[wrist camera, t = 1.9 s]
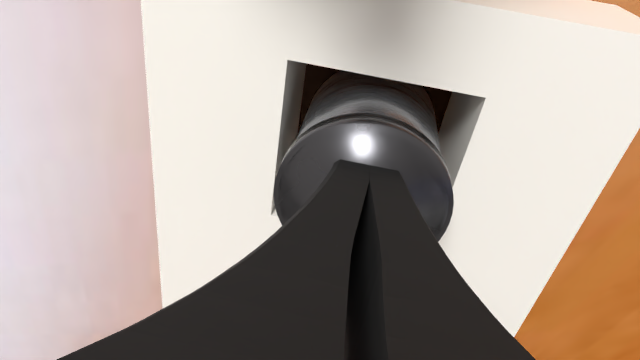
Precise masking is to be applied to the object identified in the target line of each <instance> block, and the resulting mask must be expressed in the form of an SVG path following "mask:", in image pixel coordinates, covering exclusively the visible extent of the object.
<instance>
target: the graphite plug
mask: <svg viewBox="0 0 640 360" xmlns="http://www.w3.org/2000/svg"><path fill="white" fill-rule="evenodd" d="M340 159H342V160H347V161H352V162H357V163H362V164H367V165H372V166H377V167H382V168H387V169H392V170H397V171H399V172H400V174H401V175H402V177H403V179H404V181H405V183H406V185H407V187H408V189H409V191H410V193H411V195H412V197H413V199H414V201H415V203H416V205H417V207H418V209H419V211H420V212H421V214H422V216H423V218H424V220H425V221H426V223H427V225H428V226H429V228H430V230H431V231H432V233H433V235H434V236H435V238H436V240H437V241H439V240H440V239H441V238H442V236H443V235H444V233H445V232H446V230H447V227H448V225H449V223H450V220H451V217H452V213H453V205H454V199H453V189H452V184H451V179H450V174H449V170H448V167H447V165H446V162H445V160H444V158H443V156H442V154H441V148H440V142H439V137H438V131H437V125H436V119H435V113H434V108H433V105H432V102H431V100H430V98H429V96H428V94H427V92H426V91H425V90H424V88H423V87H422V86H421V85H417V84H412V83H406V82H401V81H396V80H391V79H385V78H380V77H375V76H370V75H365V74H359V73H354V72H349V71H344V70H341V71H339V72H337V73H335V74H334V75H332V76H331V77H330V78H328V79H327V80H326V81H325V82H324V83H323V84H322V85H321V86H320V88H319V89H318V90H317V92H316V93H315V95H314V97H313V99H312V101H311V104H310V106H309V109H308V111H307V114H306V116H305V119H304V121H303V124H302V126H301V128H300V131H299V133H298V136H297V138H296V140H295V141H294V142H293V143H292V145H291V146H290V147H289V149H288V151H287V152H286V154H285V156H284V158H283V160H282V163H281V165H280V168H279V170H278V173H277V176H276V179H275V184H274V204H275V209H276V212H277V216H278V218H279V220H280V222H281V224H282V225H283V224H284V223H285V222H286V221H288V220H289V219H290V218H291V217H292V216H293V215H294V214H295V213H296V212H297V211H298V210H299V209H300V208H301V207H302V206H303V204H304V203H305V202H306V201H307V200H308V199H309V198H310V196H311V195H312V194H313V193H314V192H315V191H316V190H317V188H318V187H319V186H320V184H321V183H322V182H323V181H324V179H325V178H326V176H327V175H328V173H329V172H330V170H331V168H332V166H333V164H334V163H335V162H336V161H338V160H340Z"/></svg>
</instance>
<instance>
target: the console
mask: <svg viewBox="0 0 640 360" xmlns="http://www.w3.org/2000/svg"><path fill="white" fill-rule="evenodd" d="M141 12H142V26H143V40H144V54H145V68H146V82H147V96H148V110H149V124H150V138H151V152H152V166H153V180H154V194H155V209H156V223H157V237H158V251H159V265H160V279H161V293H162V307H163V308H165V307H167V306H169V305H170V304H172V303H174V302H176V301H178V300H179V299H181V298H183V297H185V296H187V295H188V294H190V293H192V292H194V291H195V290H197V289H199V288H200V287H202V286H203V285H205V284H206V283H208V282H210V281H211V280H213V279H214V278H216V277H217V276H219V275H220V274H221V273H223V272H224V271H226V270H227V269H229V268H230V267H232V266H233V265H235V264H236V263H238V262H239V261H240V260H242V259H243V258H244V257H246V256H247V255H248V254H249V253H251V252H252V251H253V250H255V249H256V248H257V247H258V246H260V245H261V244H262V243H263V242H265V241H266V240H267V239H268V238H269V237H270V236H272V235H273V234H274V233H275V232H276V231H277V230H278V229H279V228H280V227H281V226H282V224H281V222H280V220H279V218H278V216H277V212H276V209H275V204H274V184H275V179H276V176H277V173H278V170H279V168H280V165H281V163H282V160H283V158H284V156H285V154H286V152H287V151H288V149H289V147H290V146H291V145H292V143H293V142H294V141H295V140H296V138H297V133H298V125H299V118H300V110H301V103H302V95H303V87H304V80H305V72H306V65H307V64H312V65H318V66H323V67H328V68H333V69H338V70H344V71H349V72H354V73H359V74H365V75H370V76H375V77H380V78H385V79H391V80H396V81H401V82H406V83H412V84H417V85H422V86H427V87H432V88H438V89H443V90H448V91H452V94H451V97H450V100H449V103H448V106H447V109H446V112H445V115H444V118H443V121H442V124H441V127H440V130H439V133H438V137H439V142H440V148H441V154H442V156H443V158H444V160H445V162H446V165H447V167H448V170H449V174H450V179H451V184H452V189H453V199H454V205H453V213H452V217H451V220H450V223H449V225H448V227H447V230H446V232H445V233H444V235H443V236H442V238H441V239H440V240H439V241H438V243H439V244H440V246H441V247H442V249H443V251H444V252H445V254H446V255H447V257H448V258H449V259H450V261H451V262H452V264H453V265H454V267H455V268H456V270H457V271H458V272H459V274H460V275H461V276H462V278H463V279H464V280H465V282H466V283H467V284H468V285H469V287H470V288H471V289H472V290H473V291H474V293H475V294H476V295H477V296H478V297H479V299H480V300H481V301H482V302H483V303H484V305H485V306H486V307H487V308H488V309H489V311H490V312H491V313H492V314H493V315H494V317H495V318H496V319H497V320H498V321H499V322H500V323H501V324H502V325H503V326H504V328H505V329H506V330H507V331H508V332H509V333H510V334H511V335H512V336H513V337H514V336H515V335H516V333H517V331H518V330H519V328H520V326H521V325H522V323H523V321H524V320H525V318H526V316H527V315H528V313H529V311H530V310H531V308H532V306H533V305H534V303H535V301H536V300H537V298H538V296H539V295H540V293H541V291H542V290H543V288H544V286H545V285H546V283H547V281H548V280H549V278H550V276H551V275H552V273H553V271H554V270H555V268H556V266H557V265H558V263H559V261H560V260H561V258H562V256H563V255H564V253H565V251H566V250H567V248H568V246H569V245H570V243H571V241H572V240H573V238H574V236H575V235H576V233H577V231H578V230H579V228H580V226H581V225H582V223H583V221H584V220H585V218H586V216H587V215H588V213H589V211H590V210H591V208H592V206H593V205H594V203H595V201H596V200H597V198H598V196H599V195H600V193H601V191H602V190H603V188H604V186H605V185H606V183H607V181H608V180H609V178H610V176H611V175H612V173H613V171H614V170H615V168H616V166H617V165H618V163H619V161H620V160H621V158H622V156H623V155H624V153H625V151H626V150H627V148H628V146H629V145H630V143H631V141H632V140H633V138H634V136H635V135H636V133H637V131H638V130H639V128H640V17H638V16H636V15H634V14H632V13H630V12H628V11H626V10H624V9H623V8H621V7H619V6H617V5H612V4H607V3H601V2H596V1H590V0H141Z"/></svg>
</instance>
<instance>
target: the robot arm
mask: <svg viewBox="0 0 640 360" xmlns="http://www.w3.org/2000/svg"><path fill="white" fill-rule="evenodd" d="M57 360H535V359H534V358H533V357H532V355H531V354H530V353H529V352H528V351H527V350H526V349H525V348H524V347H523V346H522V345H521V344H520V343H519V342H518V341H517V340H516V339H515V338H514V337H513V336H512V335H511V334H510V333H509V332H508V331H507V330H506V329H505V328H504V326H503V325H502V324H501V323H500V322H499V321H498V320H497V319H496V318H495V317H494V315H493V314H492V313H491V312H490V311H489V309H488V308H487V307H486V306H485V305H484V303H483V302H482V301H481V300H480V299H479V297H478V296H477V295H476V294H475V293H474V291H473V290H472V289H471V288H470V287H469V285H468V284H467V283H466V282H465V280H464V279H463V278H462V276H461V275H460V274H459V272H458V271H457V270H456V268H455V267H454V265H453V264H452V262H451V261H450V259H449V258H448V257H447V255H446V254H445V252H444V251H443V249H442V247H441V246H440V244H439V243H438V241H437V240H436V238H435V236H434V235H433V233H432V231H431V230H430V228H429V226H428V225H427V223H426V221H425V220H424V218H423V216H422V214H421V212H420V211H419V209H418V207H417V205H416V203H415V201H414V199H413V197H412V195H411V193H410V191H409V189H408V187H407V185H406V183H405V181H404V179H403V177H402V175H401V174H400V172H399V171H397V170H392V169H387V168H382V167H377V166H372V165H367V164H362V163H357V162H352V161H347V160H342V159H340V160H338V161H336V162H335V163H334V164H333V166H332V168H331V170H330V172H329V173H328V175H327V176H326V178H325V179H324V181H323V182H322V183H321V184H320V186H319V187H318V188H317V190H316V191H315V192H314V193H313V194H312V195H311V196H310V198H309V199H308V200H307V201H306V202H305V203H304V204H303V206H302V207H301V208H300V209H299V210H298V211H297V212H296V213H295V214H294V215H293V216H292V217H291V218H290V219H289V220H288V221H286V222H285V223H284V224H283V225H282V226H281V227H280V228H279V229H278V230H277V231H276V232H275V233H274V234H273V235H272V236H270V237H269V238H268V239H267V240H266V241H265V242H263V243H262V244H261V245H260V246H258V247H257V248H256V249H255V250H253V251H252V252H251V253H249V254H248V255H247V256H246V257H244V258H243V259H242V260H240V261H239V262H238V263H236V264H235V265H233V266H232V267H230V268H229V269H227V270H226V271H224V272H223V273H221V274H220V275H219V276H217V277H216V278H214V279H213V280H211V281H210V282H208V283H206V284H205V285H203V286H202V287H200V288H199V289H197V290H195V291H194V292H192V293H190V294H188V295H187V296H185V297H183V298H181V299H179V300H178V301H176V302H174V303H172V304H170V305H169V306H167V307H165V308H163V309H161V310H160V311H158V312H156V313H154V314H152V315H150V316H149V317H147V318H145V319H143V320H141V321H139V322H137V323H135V324H133V325H132V326H130V327H128V328H126V329H123V330H121V331H119V332H117V333H115V334H112V335H110V336H108V337H106V338H104V339H101V340H99V341H97V342H95V343H93V344H90V345H88V346H86V347H84V348H82V349H79V350H77V351H75V352H73V353H71V354H68V355H66V356H64V357H62V358H59V359H57Z"/></svg>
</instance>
